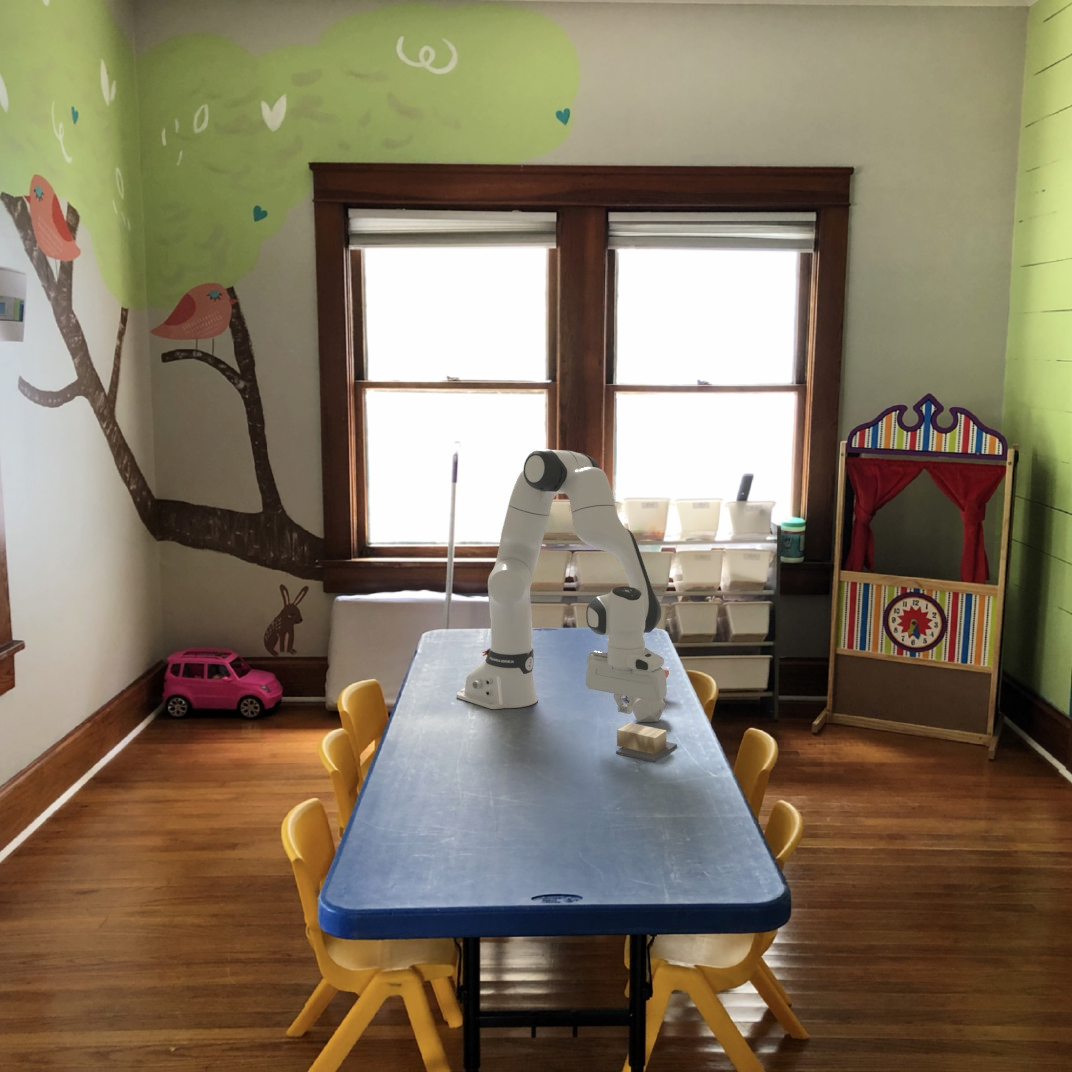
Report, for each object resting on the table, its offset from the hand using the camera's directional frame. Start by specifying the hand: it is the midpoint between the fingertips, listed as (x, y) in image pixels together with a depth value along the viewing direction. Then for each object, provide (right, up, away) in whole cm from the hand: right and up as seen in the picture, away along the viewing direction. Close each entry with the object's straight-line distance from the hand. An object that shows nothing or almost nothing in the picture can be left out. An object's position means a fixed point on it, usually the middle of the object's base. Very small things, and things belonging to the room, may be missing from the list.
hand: (624, 712), depth 250 cm
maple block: (0, -5, +1) cm, 6 cm away
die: (+7, -5, +19) cm, 21 cm away
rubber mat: (+5, -9, -2) cm, 10 cm away
